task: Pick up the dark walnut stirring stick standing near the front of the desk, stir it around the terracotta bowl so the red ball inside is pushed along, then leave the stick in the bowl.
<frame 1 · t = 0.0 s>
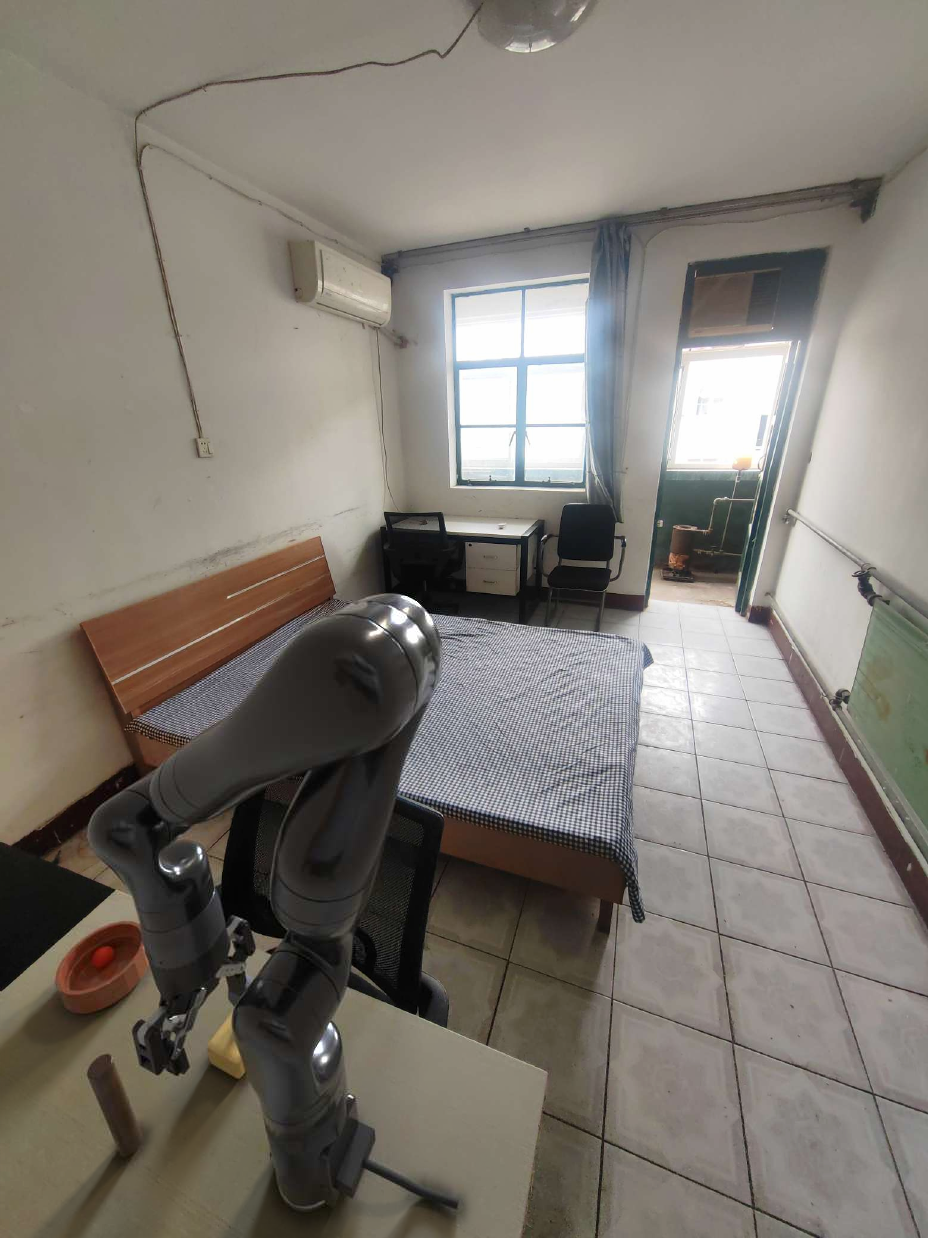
hand: (211, 1027, 57), 17 cm above the table, tool pointing down, fingers open, 8 cm apart
bowl: (109, 976, 79), on the table
stick: (131, 1144, 60), on the table
ball: (103, 957, 80), point 2 cm above the table, touching bowl
rubber stamp: (251, 1034, 71), on the table
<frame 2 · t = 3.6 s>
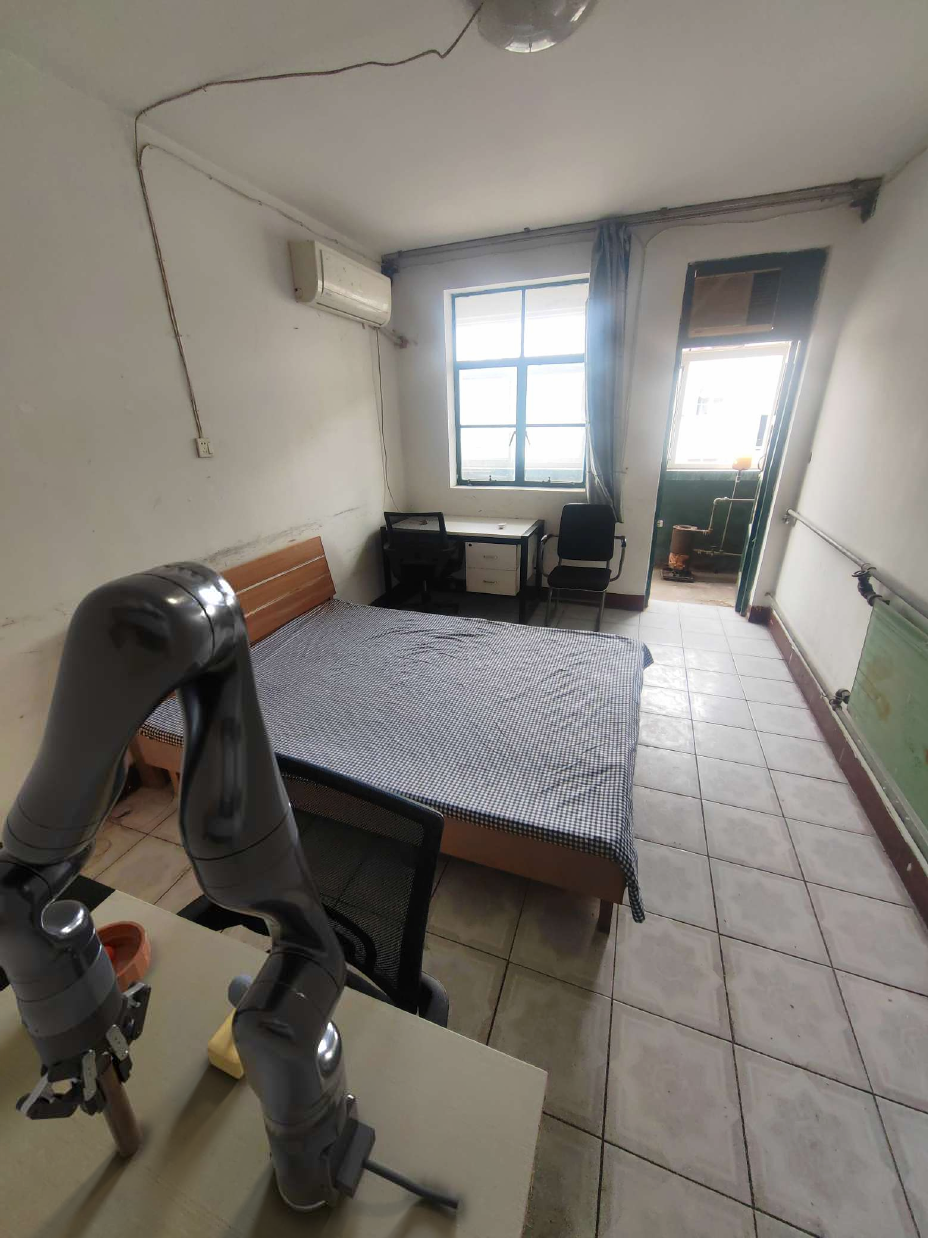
hand: (110, 1091, 56), 11 cm above the table, tool pointing down, fingers closed on stick, 2 cm apart
stick: (131, 1144, 60), on the table, touching gripper
everything else where it was.
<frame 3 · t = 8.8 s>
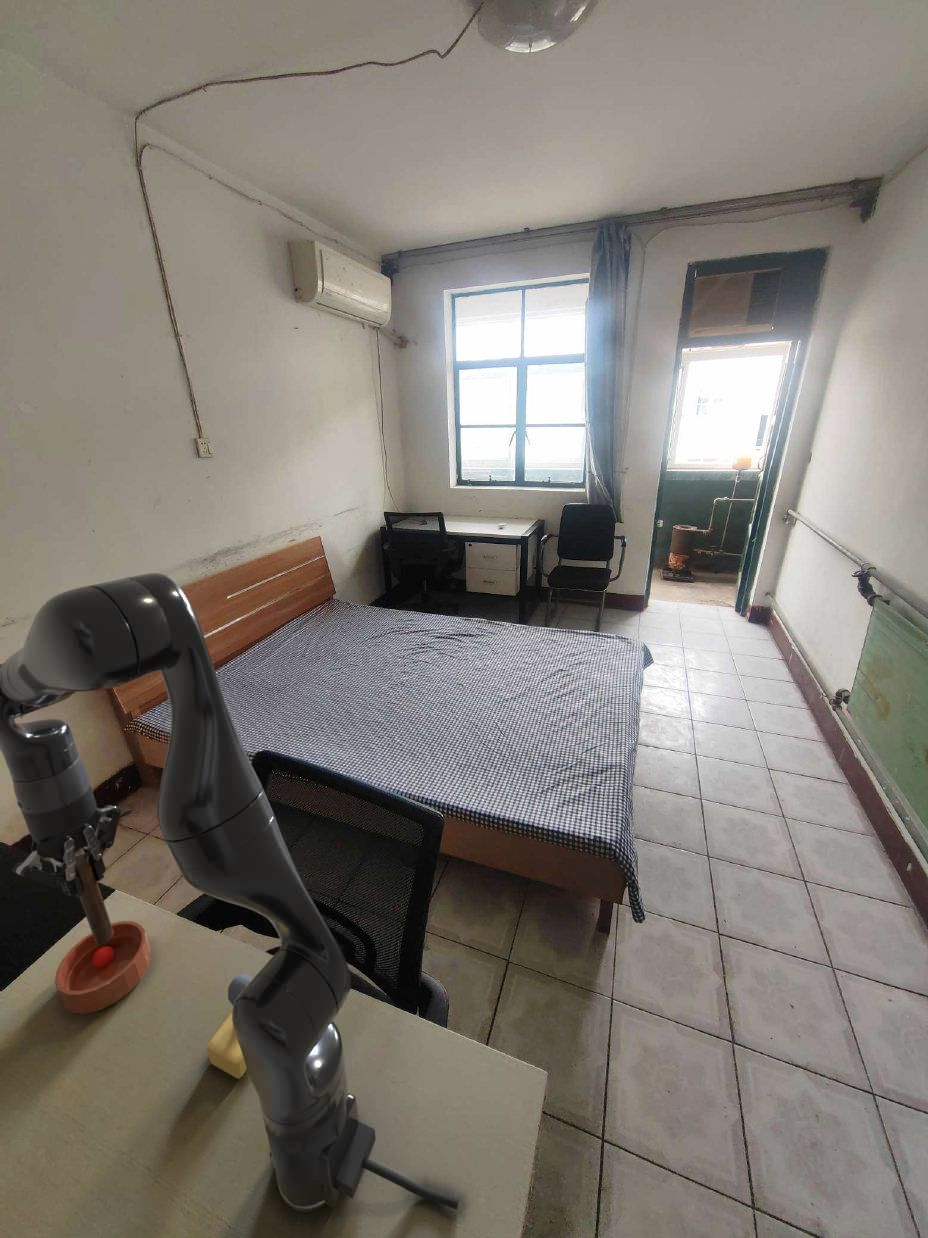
hand: (87, 885, 71), 21 cm above the table, tool pointing down, fingers closed on stick, 2 cm apart
stick: (104, 937, 75), point 10 cm above the table, touching gripper
everything else where it was.
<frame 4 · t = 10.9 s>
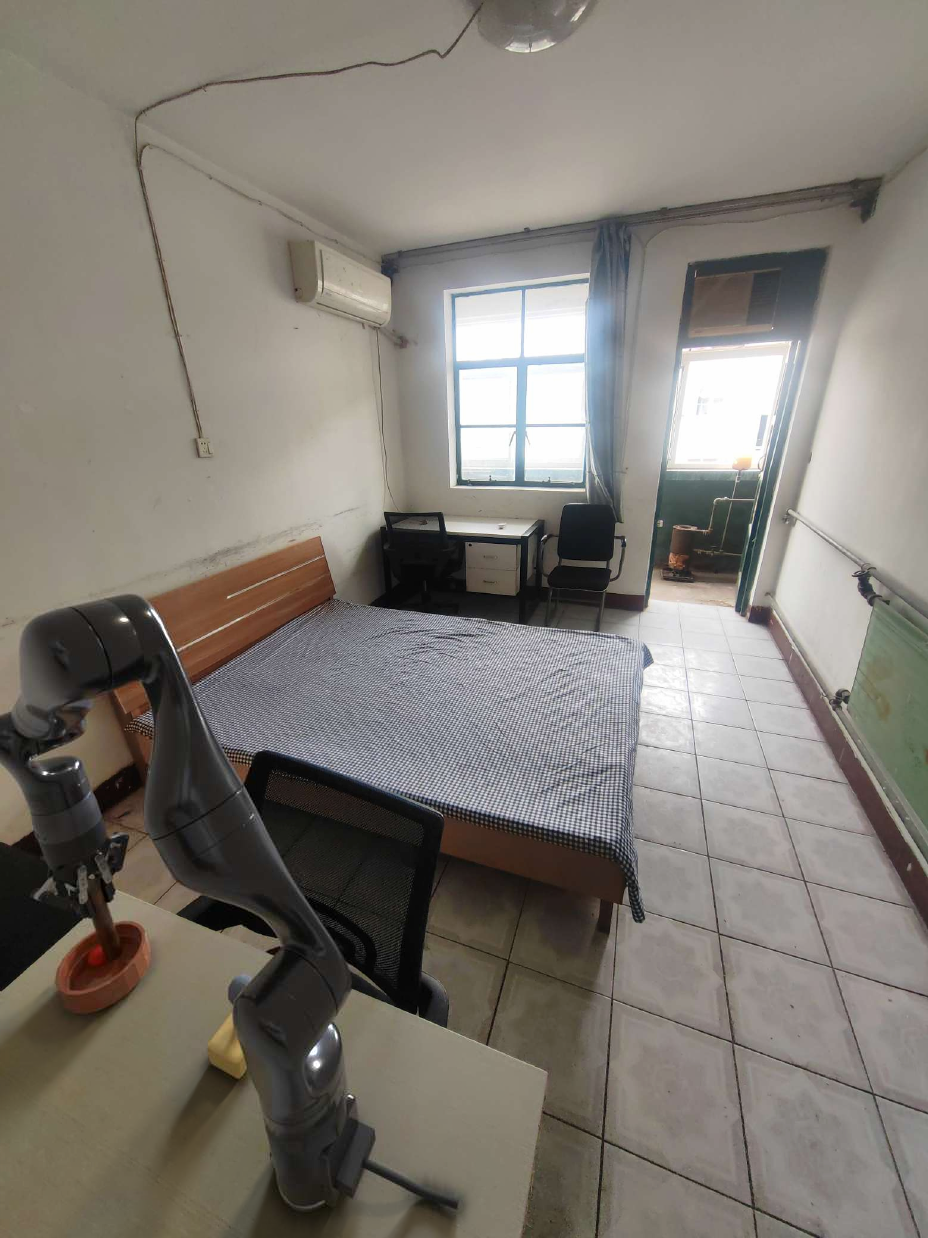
hand: (98, 907, 76), 13 cm above the table, tool pointing down, fingers closed on stick, 2 cm apart
stick: (114, 954, 80), point 2 cm above the table, touching ball, gripper
ball: (98, 955, 80), point 2 cm above the table, tilted 35°, touching bowl, stick
everything else where it was.
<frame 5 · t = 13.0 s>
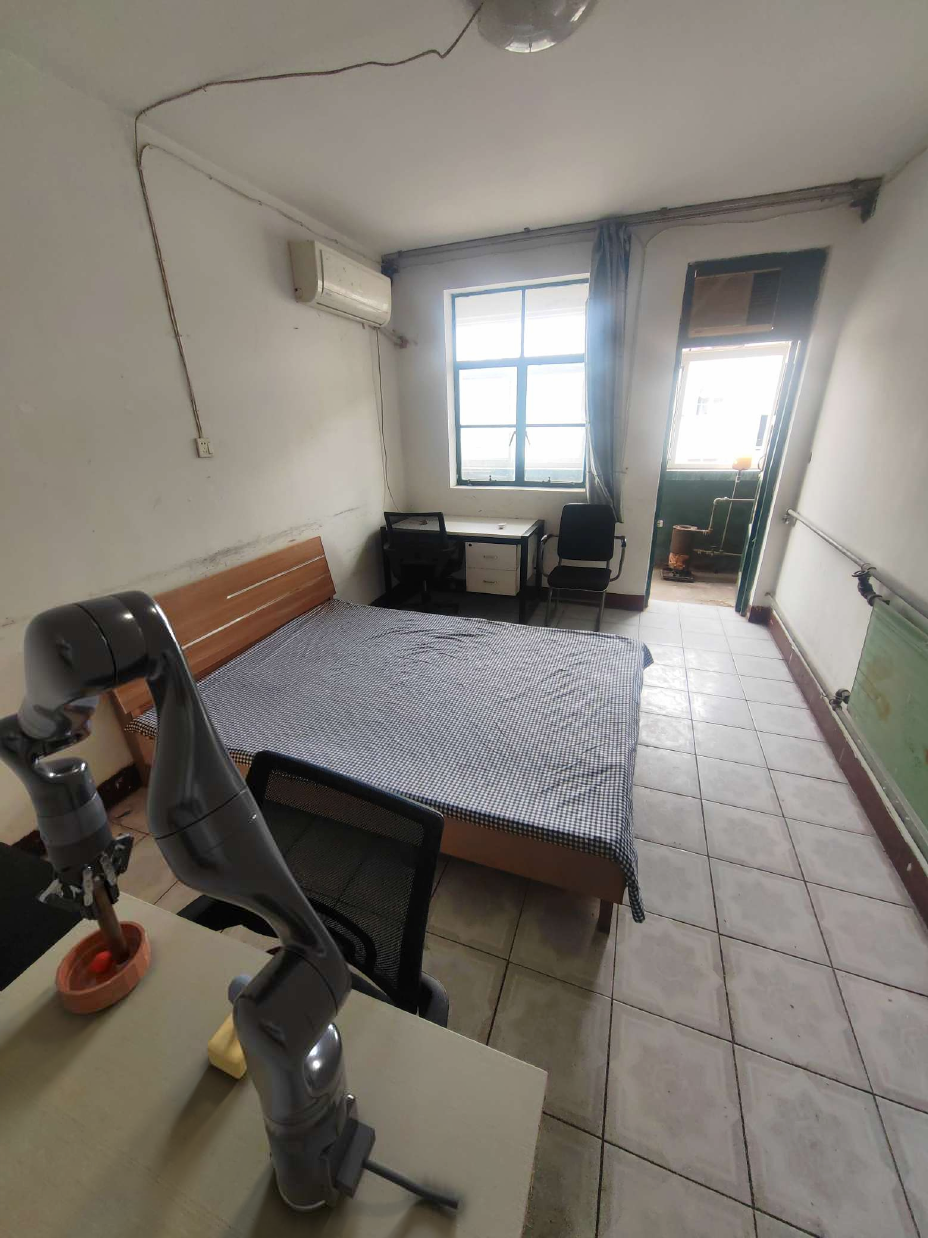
hand: (103, 909, 76), 13 cm above the table, tool pointing down, fingers closed on stick, 2 cm apart
stick: (122, 958, 79), point 2 cm above the table, touching gripper
ball: (102, 962, 79), point 2 cm above the table, tilted 35°, touching bowl
everything else where it was.
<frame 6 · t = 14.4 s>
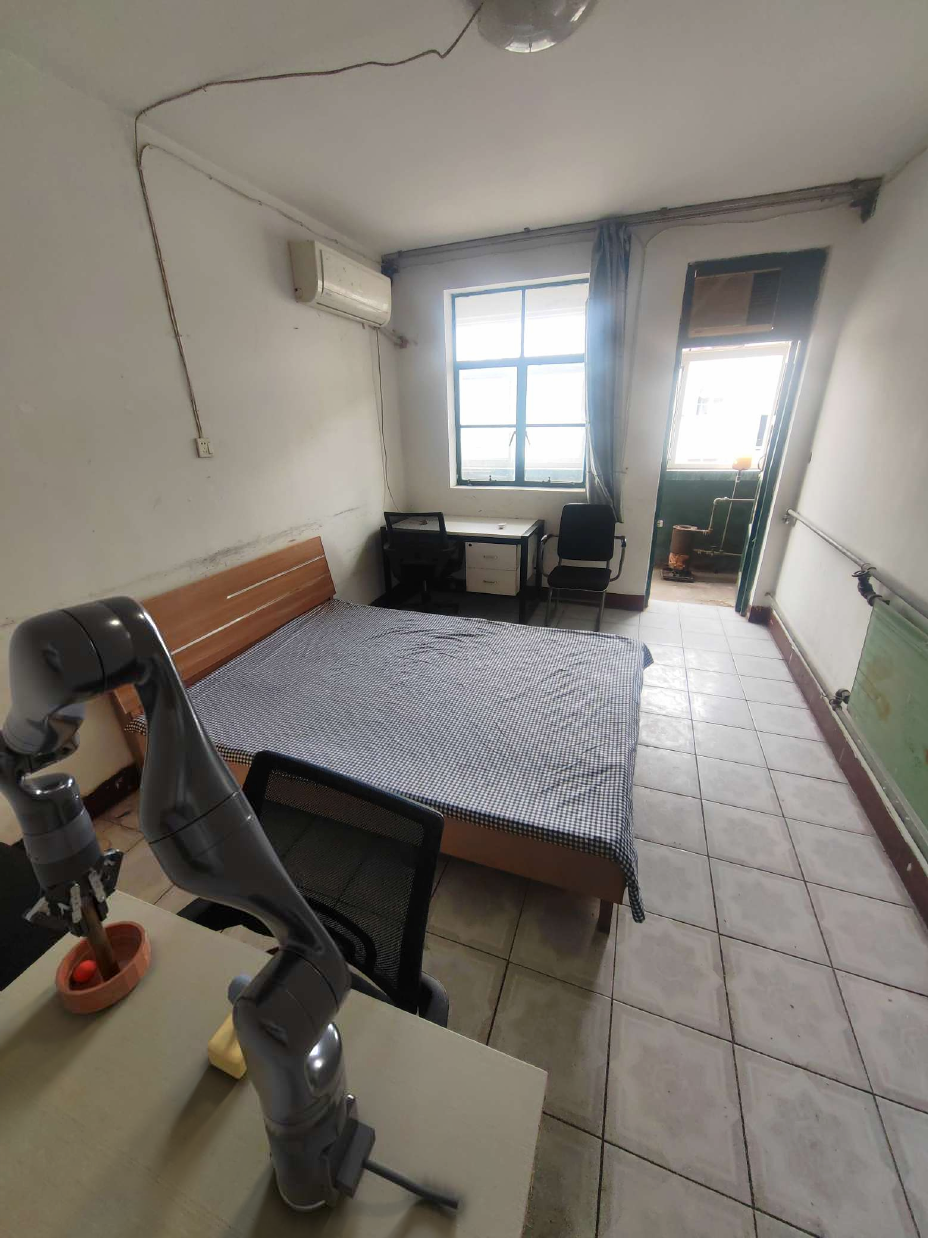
hand: (92, 925, 75), 12 cm above the table, tool pointing down, fingers closed on stick, 2 cm apart
stick: (111, 975, 78), point 1 cm above the table, touching bowl, gripper
ball: (84, 971, 77), point 2 cm above the table, tilted 63°, touching bowl
everything else where it was.
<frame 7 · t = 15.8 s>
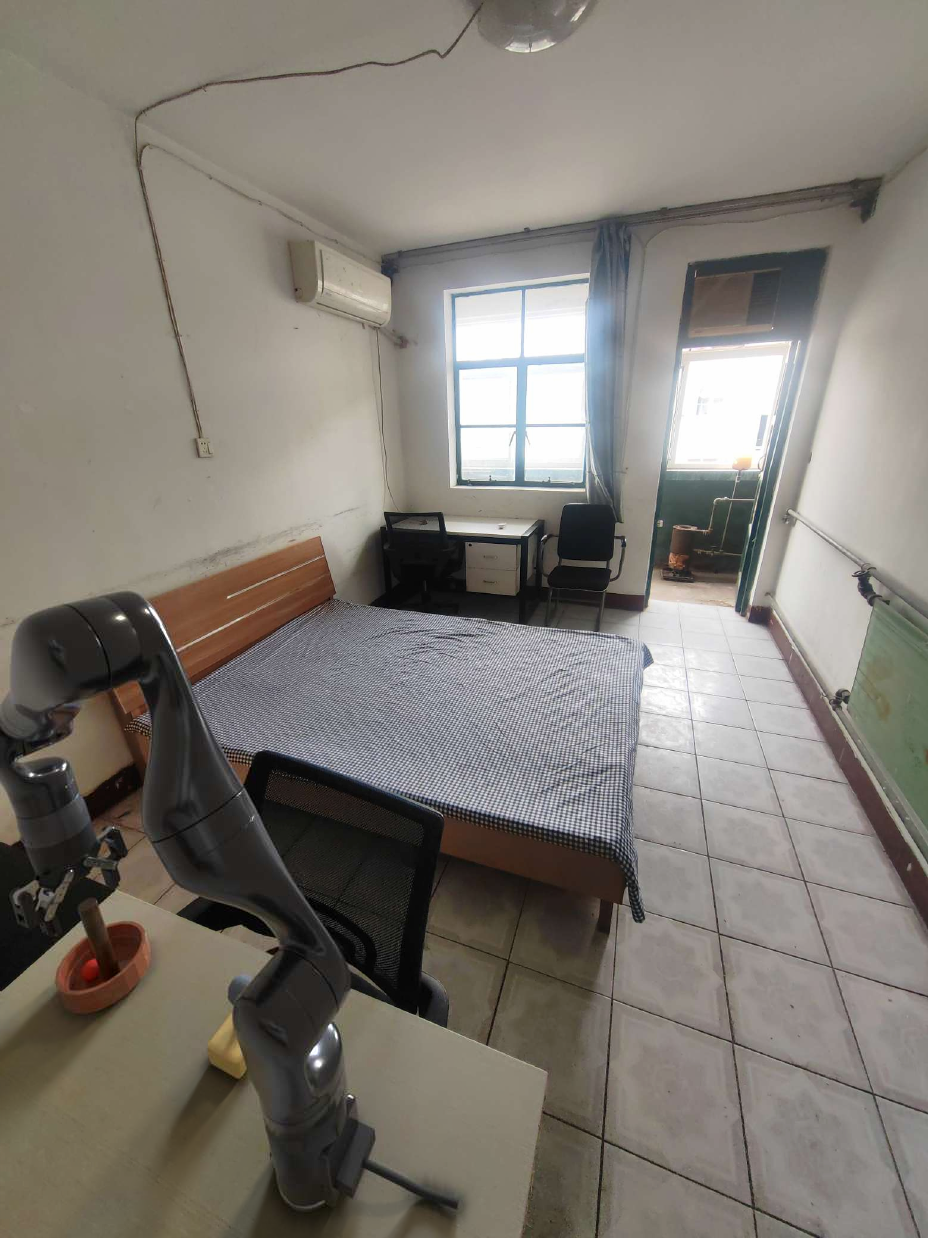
hand: (86, 908, 74), 15 cm above the table, tool pointing down, fingers open, 8 cm apart
stick: (111, 975, 78), point 1 cm above the table, touching bowl
ball: (92, 969, 78), point 2 cm above the table, tilted 47°, touching bowl
everything else where it was.
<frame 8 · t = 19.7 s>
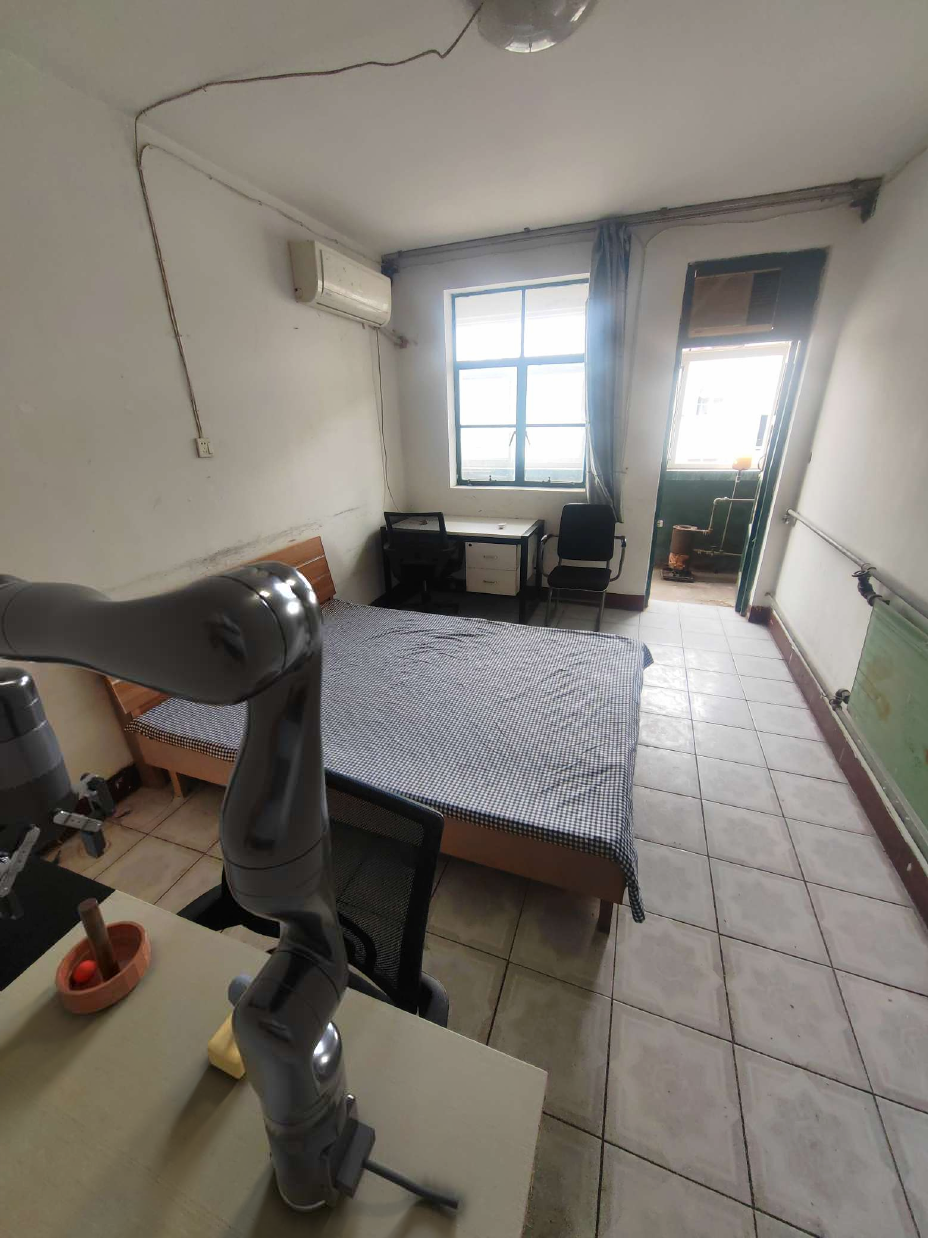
hand: (58, 882, 54), 36 cm above the table, tool pointing down, fingers open, 8 cm apart
ball: (85, 971, 77), point 2 cm above the table, tilted 63°, touching bowl
everything else where it was.
at the end: ball moved 2.7 cm from its start; ball inside the target area in the bowl (3.2 cm from its centre), point 2.1 cm above the bowl's base; stick inside the target area in the bowl (0.7 cm from its centre), point 0.6 cm above the bowl's base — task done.
